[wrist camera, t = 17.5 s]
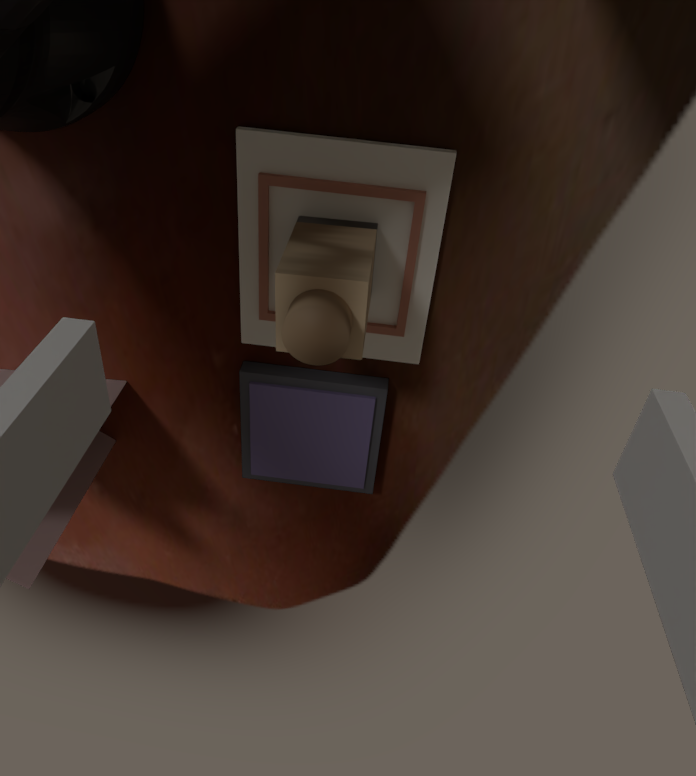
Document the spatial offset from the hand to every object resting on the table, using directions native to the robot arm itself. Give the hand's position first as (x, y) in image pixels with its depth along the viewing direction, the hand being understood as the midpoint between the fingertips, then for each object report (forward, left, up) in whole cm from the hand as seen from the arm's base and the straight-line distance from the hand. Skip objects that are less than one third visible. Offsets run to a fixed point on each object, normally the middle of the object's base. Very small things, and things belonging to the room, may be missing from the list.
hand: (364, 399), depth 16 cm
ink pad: (-4, -24, -27) cm, 36 cm away
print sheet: (-3, -9, -27) cm, 28 cm away
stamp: (-3, -9, -26) cm, 28 cm away
